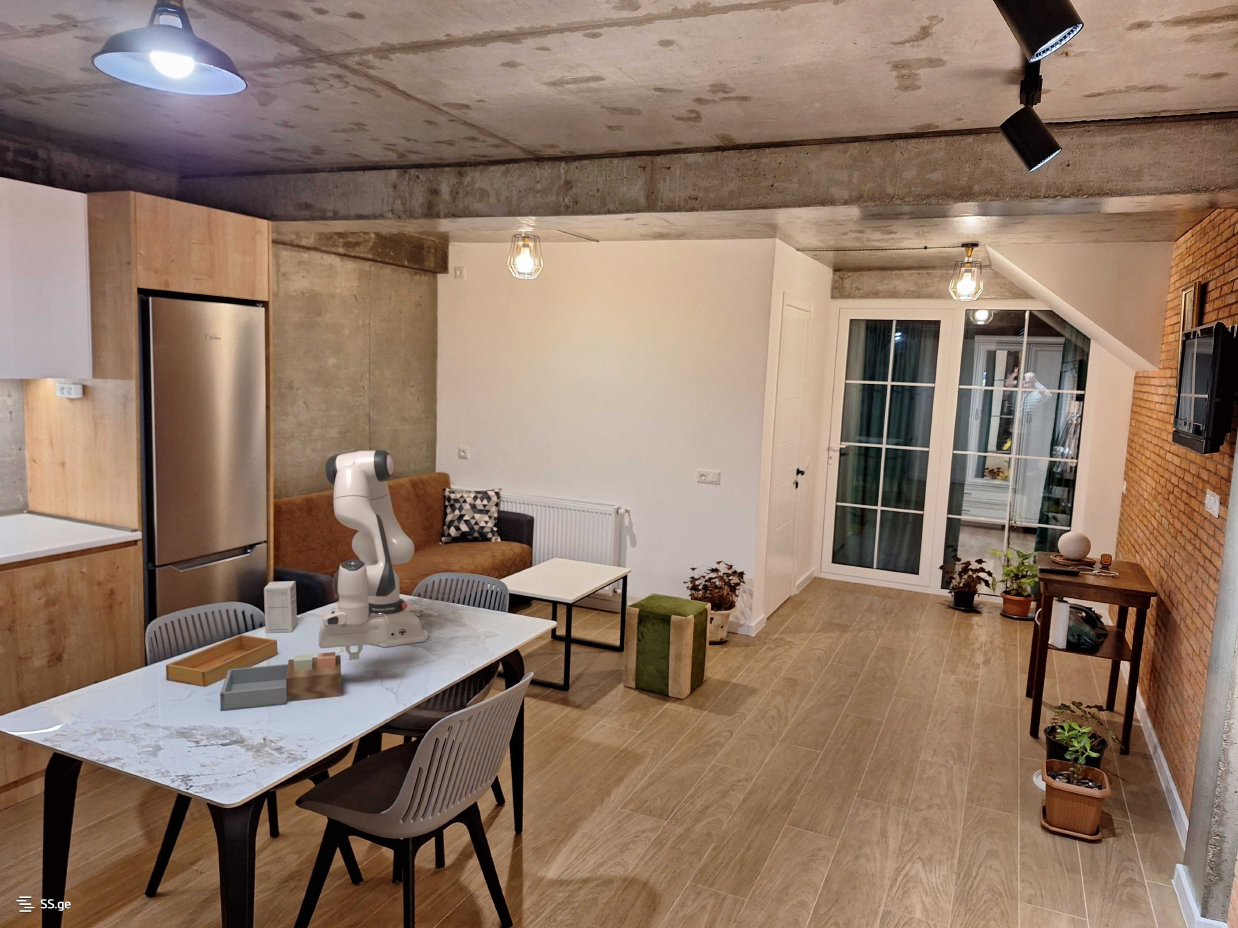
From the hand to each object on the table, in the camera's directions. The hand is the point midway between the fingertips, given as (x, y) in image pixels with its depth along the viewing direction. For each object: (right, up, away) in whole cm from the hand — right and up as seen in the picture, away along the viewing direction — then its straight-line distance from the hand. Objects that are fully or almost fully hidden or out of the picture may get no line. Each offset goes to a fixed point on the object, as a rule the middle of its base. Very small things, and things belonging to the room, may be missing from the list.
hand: (354, 658), depth 252 cm
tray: (-46, -6, +14) cm, 48 cm away
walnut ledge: (-11, -8, -3) cm, 14 cm away
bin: (-26, -9, -8) cm, 29 cm away
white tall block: (-44, -2, +53) cm, 69 cm away
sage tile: (-14, -1, -5) cm, 14 cm away
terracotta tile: (-7, -1, -3) cm, 8 cm away
